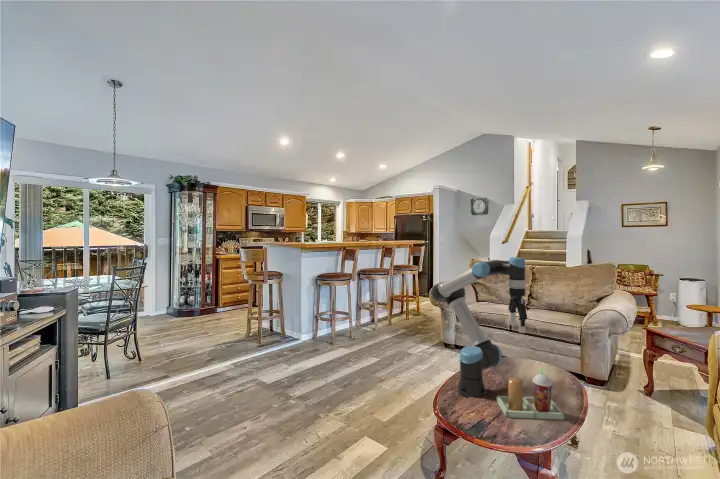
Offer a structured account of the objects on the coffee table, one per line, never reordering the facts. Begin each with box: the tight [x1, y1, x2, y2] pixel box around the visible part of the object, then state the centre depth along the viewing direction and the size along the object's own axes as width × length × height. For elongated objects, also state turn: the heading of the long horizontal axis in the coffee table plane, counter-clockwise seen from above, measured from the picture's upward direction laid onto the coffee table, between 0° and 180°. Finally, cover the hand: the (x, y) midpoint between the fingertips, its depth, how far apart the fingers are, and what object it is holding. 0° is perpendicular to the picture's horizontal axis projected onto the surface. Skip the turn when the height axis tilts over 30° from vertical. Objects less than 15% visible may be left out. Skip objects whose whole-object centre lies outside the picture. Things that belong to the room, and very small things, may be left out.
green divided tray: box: [496, 395, 566, 421], centre depth 162 cm, size 26×15×4 cm, turn 84°
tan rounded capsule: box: [507, 376, 524, 411], centre depth 163 cm, size 6×6×14 cm
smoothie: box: [532, 368, 553, 412], centre depth 161 cm, size 8×8×20 cm
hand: (517, 328), depth 174 cm, fingers open, 13 cm apart
